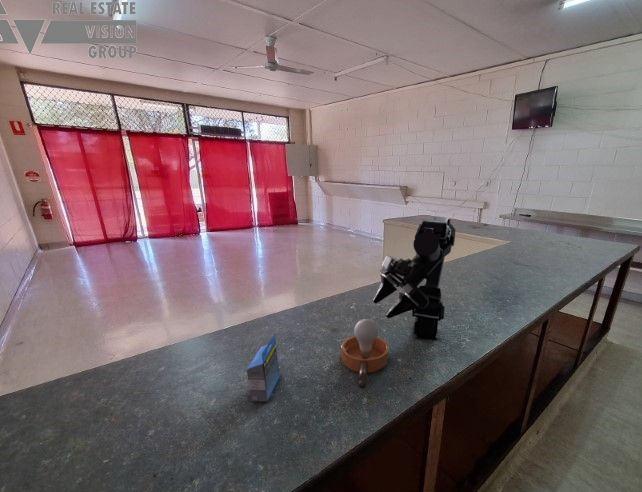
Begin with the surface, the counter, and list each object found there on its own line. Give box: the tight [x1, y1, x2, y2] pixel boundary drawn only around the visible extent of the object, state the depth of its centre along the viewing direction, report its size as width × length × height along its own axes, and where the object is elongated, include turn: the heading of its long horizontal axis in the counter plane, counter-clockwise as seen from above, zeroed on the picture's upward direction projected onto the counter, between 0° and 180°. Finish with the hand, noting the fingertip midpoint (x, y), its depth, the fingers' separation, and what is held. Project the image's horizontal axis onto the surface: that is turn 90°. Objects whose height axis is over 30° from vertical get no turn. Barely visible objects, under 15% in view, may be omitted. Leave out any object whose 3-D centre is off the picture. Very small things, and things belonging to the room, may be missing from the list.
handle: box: [357, 361, 368, 389], centre depth 73 cm, size 2×9×2 cm, turn 178°
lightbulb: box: [353, 318, 379, 358], centre depth 81 cm, size 6×6×11 cm
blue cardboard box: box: [246, 332, 280, 403], centre depth 70 cm, size 9×4×12 cm, turn 178°
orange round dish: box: [341, 335, 390, 374], centre depth 83 cm, size 12×12×4 cm
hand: (380, 309), depth 81 cm, fingers open, 9 cm apart
